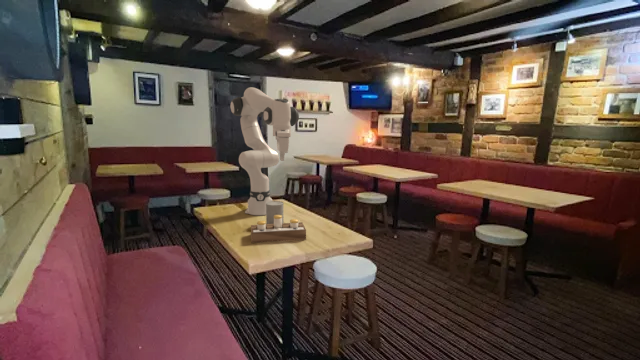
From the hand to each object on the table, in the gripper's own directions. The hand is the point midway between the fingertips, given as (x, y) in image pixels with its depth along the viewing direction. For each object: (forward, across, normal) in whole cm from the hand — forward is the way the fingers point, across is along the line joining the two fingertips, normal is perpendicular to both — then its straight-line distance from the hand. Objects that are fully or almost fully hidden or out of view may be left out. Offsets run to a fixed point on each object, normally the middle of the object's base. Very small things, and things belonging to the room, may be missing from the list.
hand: (282, 160), depth 167 cm
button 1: (+37, +8, -11) cm, 39 cm away
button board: (+37, +8, -3) cm, 38 cm away
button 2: (+37, +8, +5) cm, 38 cm away
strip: (+32, +12, -3) cm, 34 cm away
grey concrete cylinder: (+37, -12, -3) cm, 39 cm away
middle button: (+34, +8, -3) cm, 35 cm away
